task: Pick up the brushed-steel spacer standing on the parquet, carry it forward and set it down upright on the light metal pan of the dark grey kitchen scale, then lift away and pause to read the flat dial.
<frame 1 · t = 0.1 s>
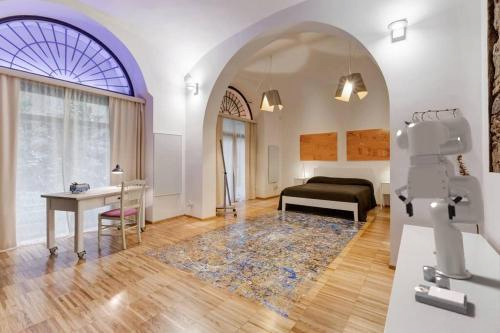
hand: (430, 217, 69), 31 cm above the table, fingers open, 9 cm apart
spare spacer: (429, 279, 94), on the table
scale: (441, 300, 79), on the table
shard: (447, 258, 117), on the table
spacer: (443, 291, 85), on the table
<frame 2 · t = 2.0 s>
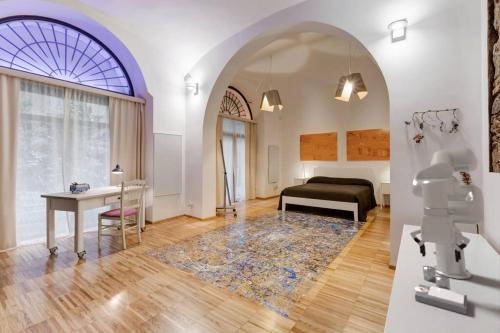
hand: (440, 258, 85), 12 cm above the table, fingers open, 9 cm apart
nothing on the table moved.
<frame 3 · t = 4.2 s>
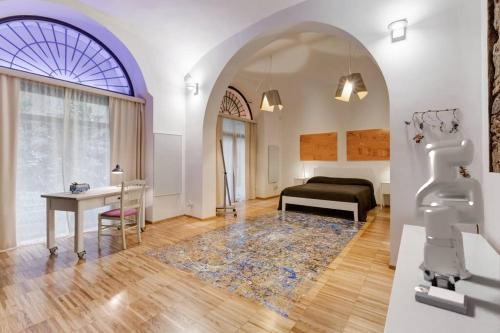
hand: (443, 290, 85), 0 cm above the table, fingers closed on spacer, 4 cm apart
spacer: (443, 291, 85), on the table, touching gripper
everything else where it was.
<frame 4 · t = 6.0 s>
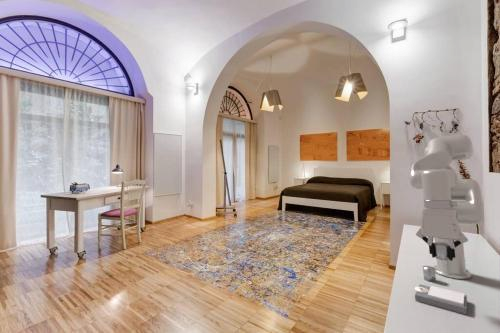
hand: (442, 257, 79), 15 cm above the table, fingers closed on spacer, 4 cm apart
spacer: (442, 258, 78), point 15 cm above the table, touching gripper
everything else where it was.
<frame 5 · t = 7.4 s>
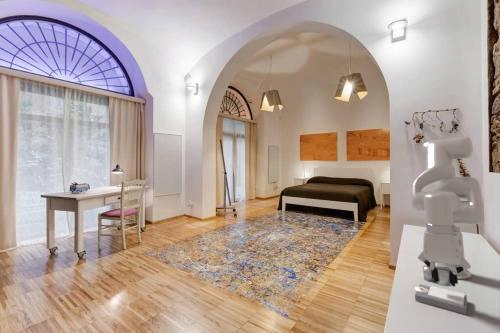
hand: (444, 282, 78), 7 cm above the table, fingers closed on spacer, 4 cm apart
spacer: (444, 283, 78), point 6 cm above the table, touching gripper
everything else where it was.
when the fingers open (4 cm above the table, at t = 8.2 s): spacer drops 1 cm, resting on scale.
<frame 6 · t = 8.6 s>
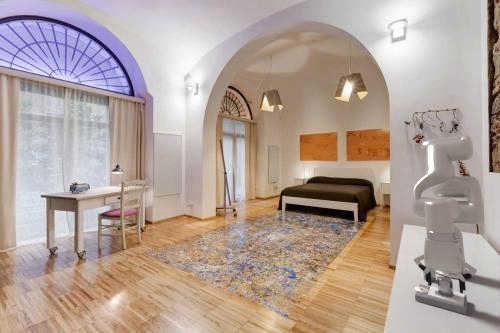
hand: (445, 287, 78), 5 cm above the table, fingers open, 7 cm apart
spacer: (445, 293, 78), point 3 cm above the table, touching scale
everything else where it was.
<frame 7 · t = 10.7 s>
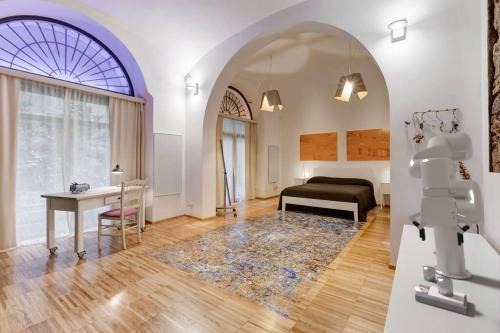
hand: (441, 242, 79), 20 cm above the table, fingers open, 9 cm apart
nothing on the table moved.
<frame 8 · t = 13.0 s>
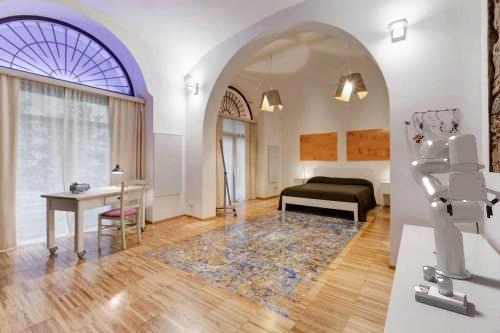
hand: (469, 216, 81), 28 cm above the table, fingers open, 9 cm apart
nothing on the table moved.
at the end: spacer inside the target area on the scale (0.1 cm from its centre), point 2.8 cm above the scale's base; spacer tilted 0°; the gripper is holding nothing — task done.
